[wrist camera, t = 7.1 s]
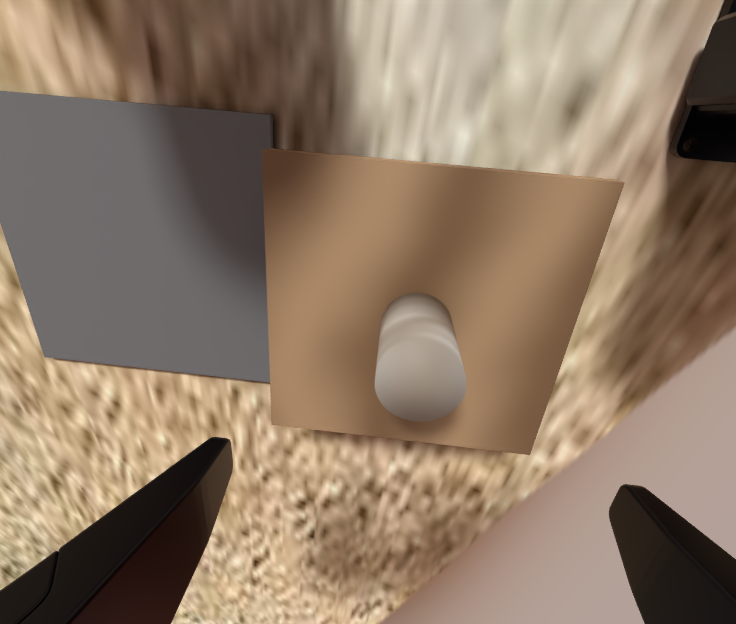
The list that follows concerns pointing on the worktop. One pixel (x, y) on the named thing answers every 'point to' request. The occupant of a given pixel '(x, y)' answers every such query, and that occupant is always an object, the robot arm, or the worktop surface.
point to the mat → (139, 231)
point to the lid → (423, 294)
